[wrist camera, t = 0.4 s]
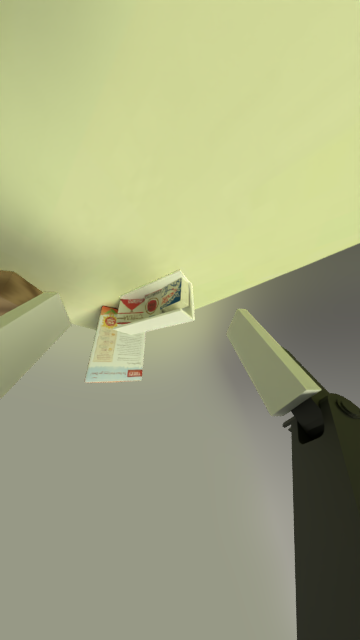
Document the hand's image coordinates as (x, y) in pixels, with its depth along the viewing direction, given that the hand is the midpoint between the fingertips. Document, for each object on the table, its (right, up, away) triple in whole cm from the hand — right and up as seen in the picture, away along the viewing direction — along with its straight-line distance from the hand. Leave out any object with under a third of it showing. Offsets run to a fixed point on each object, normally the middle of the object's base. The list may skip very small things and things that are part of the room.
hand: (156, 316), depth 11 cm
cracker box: (-17, +2, +34) cm, 38 cm away
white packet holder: (-5, +7, +23) cm, 24 cm away
